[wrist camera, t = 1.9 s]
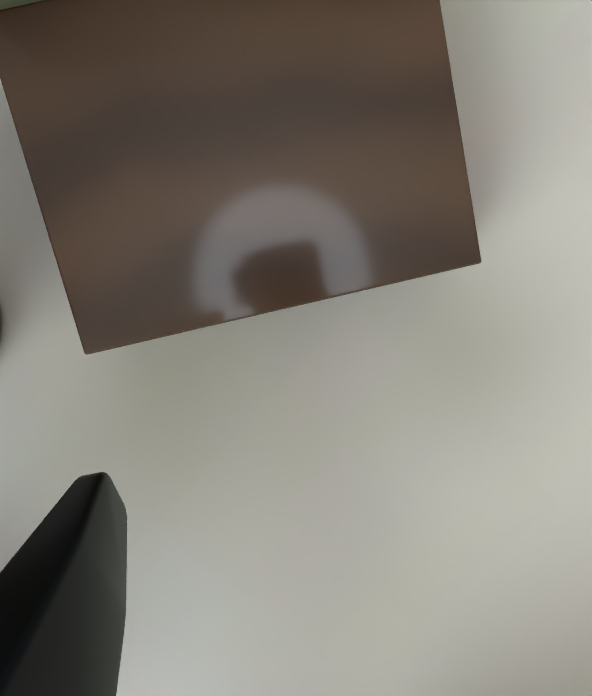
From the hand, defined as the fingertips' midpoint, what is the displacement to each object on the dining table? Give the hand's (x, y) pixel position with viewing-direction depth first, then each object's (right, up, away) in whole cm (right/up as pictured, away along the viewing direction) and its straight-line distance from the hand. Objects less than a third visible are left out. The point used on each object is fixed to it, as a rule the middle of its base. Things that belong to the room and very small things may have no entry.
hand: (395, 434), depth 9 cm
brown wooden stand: (-3, +9, +12) cm, 16 cm away
